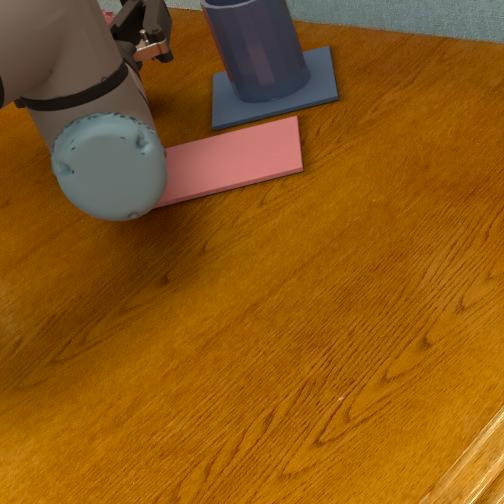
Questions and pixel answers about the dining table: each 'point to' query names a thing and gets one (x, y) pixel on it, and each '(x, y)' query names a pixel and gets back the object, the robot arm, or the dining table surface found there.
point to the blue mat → (313, 93)
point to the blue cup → (257, 47)
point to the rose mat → (232, 160)
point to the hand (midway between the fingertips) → (75, 5)
